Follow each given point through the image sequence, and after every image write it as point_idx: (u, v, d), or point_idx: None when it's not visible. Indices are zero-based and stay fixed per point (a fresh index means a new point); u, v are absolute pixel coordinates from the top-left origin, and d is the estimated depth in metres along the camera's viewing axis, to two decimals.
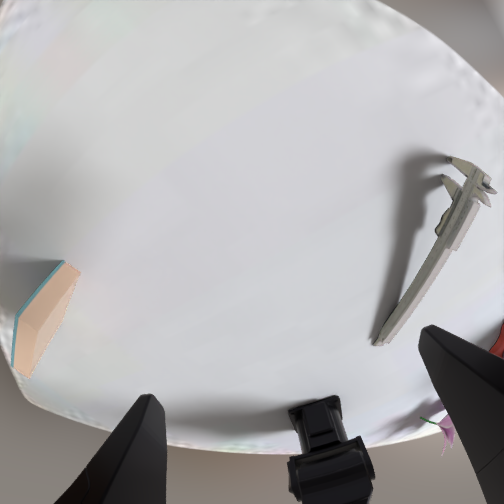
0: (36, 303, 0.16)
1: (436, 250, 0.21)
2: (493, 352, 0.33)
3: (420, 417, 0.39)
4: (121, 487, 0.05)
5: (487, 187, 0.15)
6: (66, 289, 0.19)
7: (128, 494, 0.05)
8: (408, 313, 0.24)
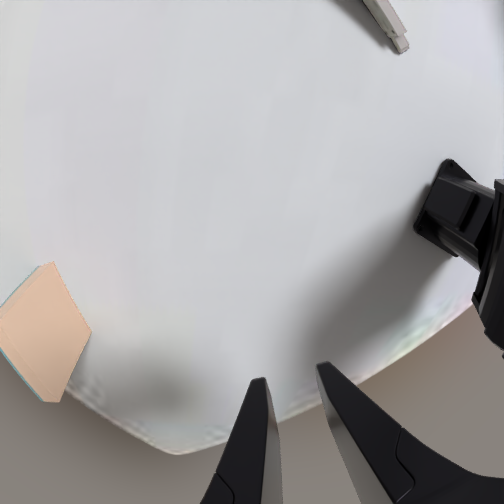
0: (4, 306, 0.13)
1: None
2: None
3: None
4: (267, 485, 0.05)
5: None
6: (35, 279, 0.16)
7: (269, 491, 0.05)
8: None
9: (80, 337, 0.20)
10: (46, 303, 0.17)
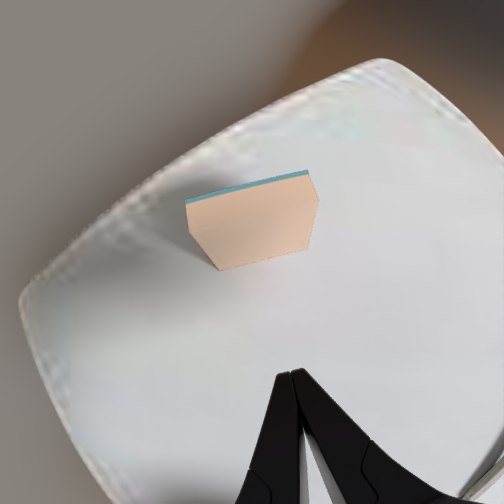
0: None
1: None
2: None
3: None
4: (301, 478, 0.05)
5: None
6: (310, 234, 0.20)
7: (303, 485, 0.05)
8: None
9: (225, 262, 0.21)
10: (284, 241, 0.20)
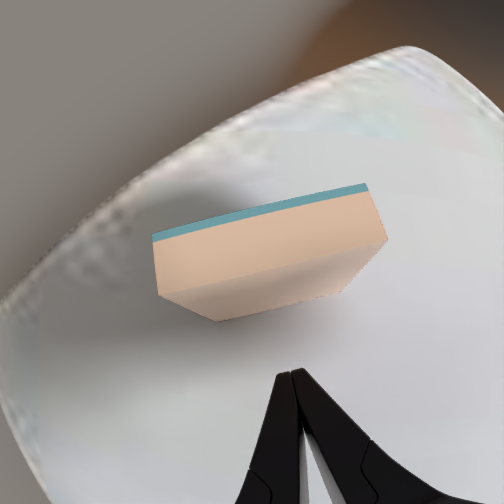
0: None
1: None
2: None
3: None
4: (301, 478, 0.05)
5: None
6: (350, 278, 0.13)
7: (303, 485, 0.05)
8: None
9: (224, 315, 0.14)
10: (313, 289, 0.13)
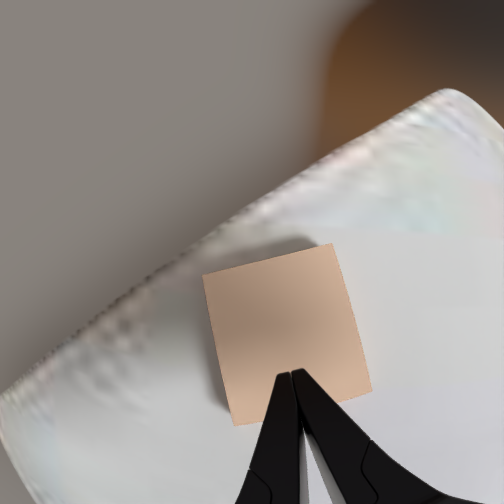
0: None
1: None
2: None
3: None
4: (301, 478, 0.05)
5: None
6: (359, 339, 0.13)
7: (303, 485, 0.05)
8: None
9: (242, 391, 0.13)
10: (322, 344, 0.13)
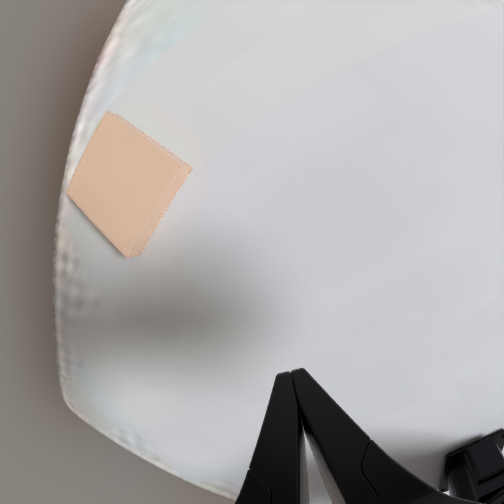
0: (133, 125, 0.18)
1: None
2: None
3: None
4: (301, 478, 0.05)
5: None
6: (151, 142, 0.16)
7: (303, 485, 0.05)
8: None
9: (115, 232, 0.18)
10: (132, 165, 0.17)
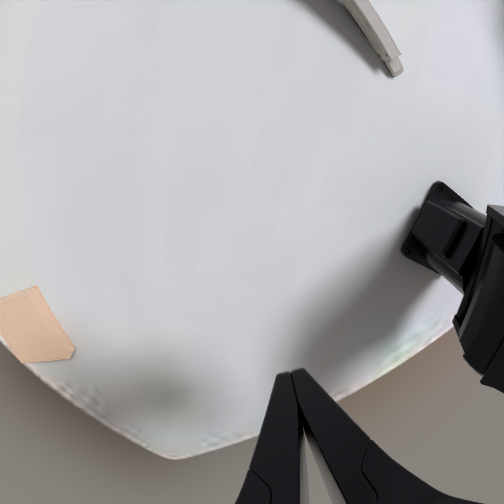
0: (0, 298, 0.19)
1: None
2: None
3: None
4: (301, 478, 0.05)
5: None
6: (10, 300, 0.18)
7: (303, 485, 0.05)
8: None
9: (53, 353, 0.21)
10: (19, 318, 0.19)
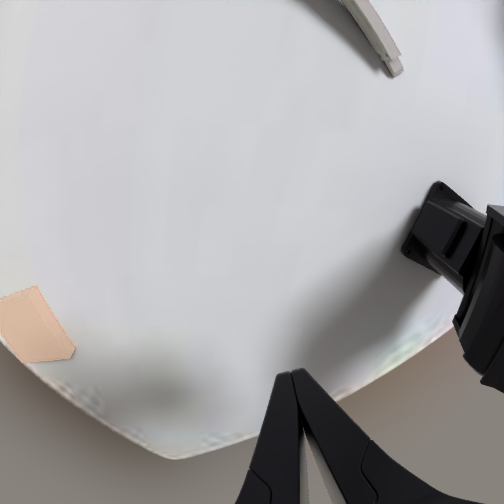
0: (0, 298, 0.19)
1: None
2: None
3: None
4: (301, 478, 0.05)
5: None
6: (10, 300, 0.18)
7: (303, 485, 0.05)
8: None
9: (53, 353, 0.21)
10: (19, 318, 0.19)
